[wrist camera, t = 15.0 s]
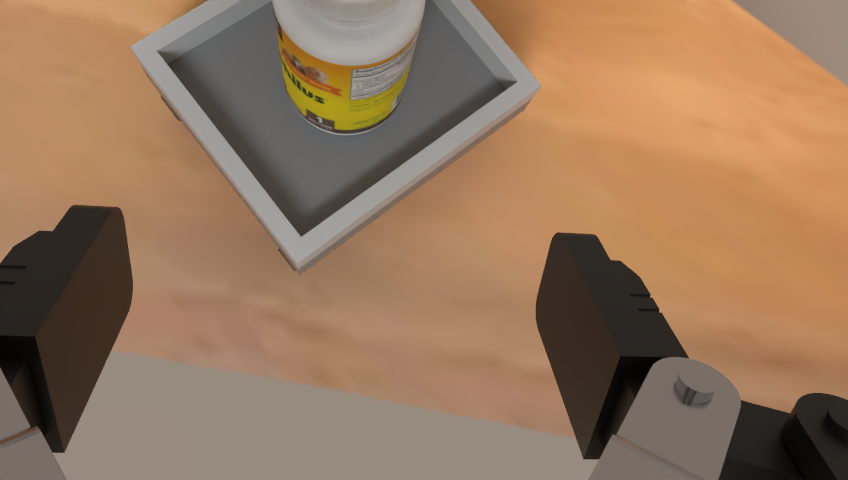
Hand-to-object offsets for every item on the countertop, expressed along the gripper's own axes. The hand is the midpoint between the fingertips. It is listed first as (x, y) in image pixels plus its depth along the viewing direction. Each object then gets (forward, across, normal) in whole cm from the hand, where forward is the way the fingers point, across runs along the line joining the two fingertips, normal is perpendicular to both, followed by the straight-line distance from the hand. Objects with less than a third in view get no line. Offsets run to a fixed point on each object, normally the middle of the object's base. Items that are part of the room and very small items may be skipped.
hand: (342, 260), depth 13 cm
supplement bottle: (+20, 0, +4) cm, 21 cm away
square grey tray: (+23, 0, +7) cm, 24 cm away
